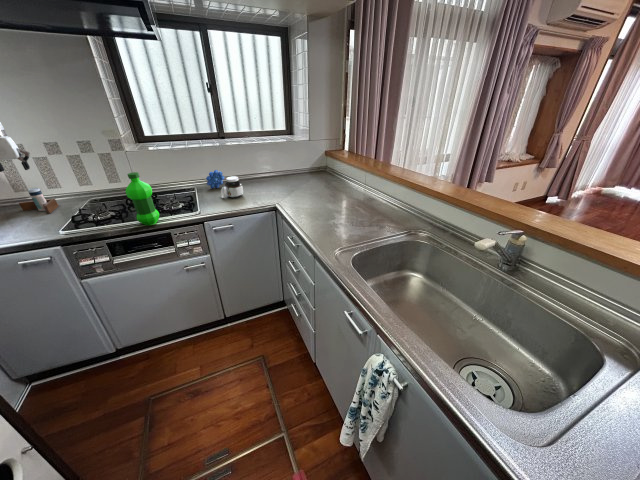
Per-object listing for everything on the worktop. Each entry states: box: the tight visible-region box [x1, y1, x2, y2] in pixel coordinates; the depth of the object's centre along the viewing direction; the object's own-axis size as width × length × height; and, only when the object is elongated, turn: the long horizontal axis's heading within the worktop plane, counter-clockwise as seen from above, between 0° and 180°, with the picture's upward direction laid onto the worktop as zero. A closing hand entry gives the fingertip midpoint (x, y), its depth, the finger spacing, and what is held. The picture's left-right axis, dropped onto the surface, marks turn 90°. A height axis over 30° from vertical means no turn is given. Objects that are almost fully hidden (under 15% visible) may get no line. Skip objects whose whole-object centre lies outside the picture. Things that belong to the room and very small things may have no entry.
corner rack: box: [18, 198, 59, 215], centre depth 143 cm, size 15×12×4 cm
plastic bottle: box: [125, 171, 160, 226], centre depth 126 cm, size 10×10×25 cm
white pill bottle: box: [27, 187, 47, 212], centre depth 144 cm, size 5×5×12 cm
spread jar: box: [220, 175, 244, 199], centre depth 161 cm, size 12×11×12 cm
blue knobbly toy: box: [205, 169, 225, 189], centre depth 176 cm, size 12×7×12 cm, turn 116°
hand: (15, 170), depth 134 cm, fingers open, 9 cm apart
